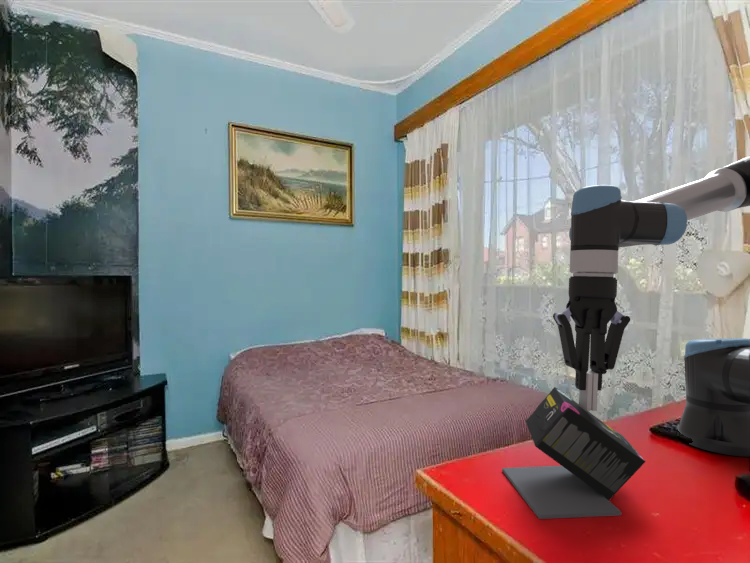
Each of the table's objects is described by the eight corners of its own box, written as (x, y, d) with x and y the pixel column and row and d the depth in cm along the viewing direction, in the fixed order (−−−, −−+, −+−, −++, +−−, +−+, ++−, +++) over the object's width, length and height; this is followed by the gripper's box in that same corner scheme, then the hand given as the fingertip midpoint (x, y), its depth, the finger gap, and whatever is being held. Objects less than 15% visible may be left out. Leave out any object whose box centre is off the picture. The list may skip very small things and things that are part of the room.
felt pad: (568, 468, 79) (568, 465, 79) (621, 515, 63) (621, 511, 63) (502, 470, 78) (502, 467, 78) (539, 519, 62) (538, 515, 62)
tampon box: (648, 462, 65) (569, 405, 67) (610, 503, 67) (534, 447, 68) (620, 432, 76) (553, 384, 78) (588, 468, 77) (523, 420, 79)
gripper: (616, 276, 76) (611, 402, 76) (546, 274, 75) (541, 400, 76) (644, 276, 68) (638, 416, 68) (566, 274, 68) (561, 414, 68)
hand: (587, 408), depth 72 cm, fingers closed
